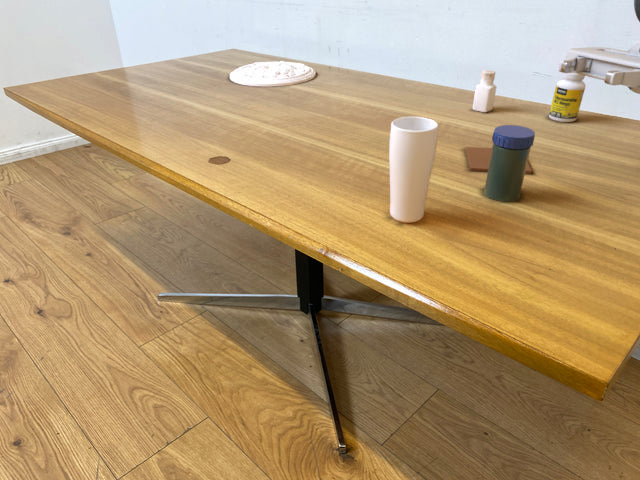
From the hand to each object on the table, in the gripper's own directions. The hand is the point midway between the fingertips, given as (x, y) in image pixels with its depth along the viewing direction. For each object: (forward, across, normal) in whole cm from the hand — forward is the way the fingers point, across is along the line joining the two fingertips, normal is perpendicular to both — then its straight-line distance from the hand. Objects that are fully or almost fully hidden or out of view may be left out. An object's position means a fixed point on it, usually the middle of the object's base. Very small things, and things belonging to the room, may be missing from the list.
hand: (584, 72), depth 75 cm
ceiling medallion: (+27, -100, +17) cm, 105 cm away
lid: (+10, -1, +9) cm, 14 cm away
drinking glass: (+29, 0, +20) cm, 35 cm away
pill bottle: (-28, -30, +19) cm, 45 cm away
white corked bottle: (-14, -43, +18) cm, 49 cm away
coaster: (+2, -14, +19) cm, 24 cm away
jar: (+10, -1, +19) cm, 22 cm away
